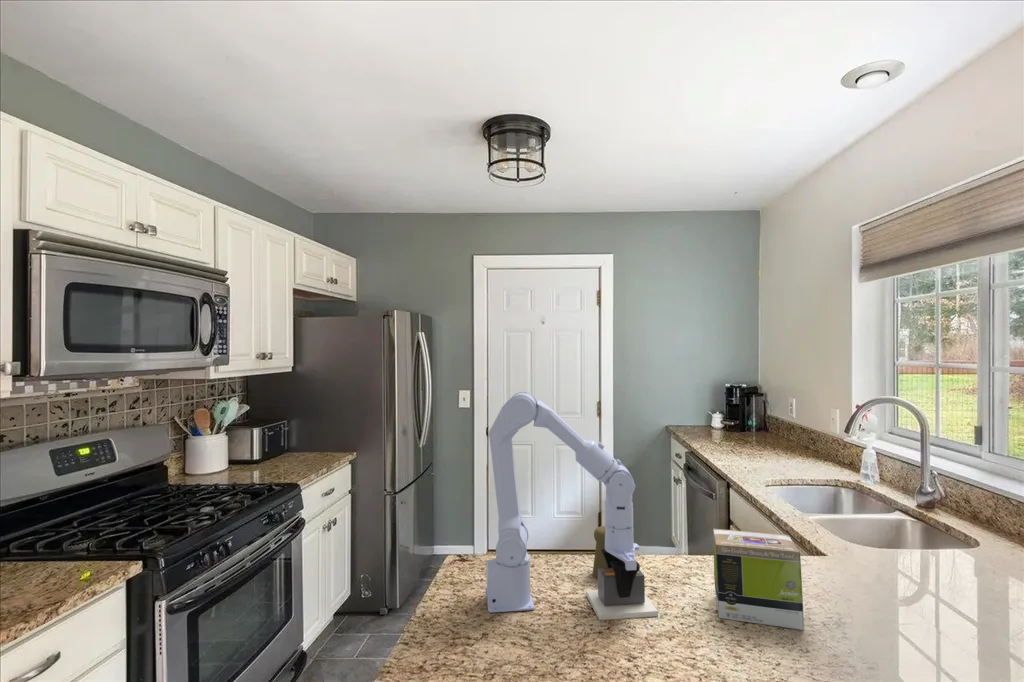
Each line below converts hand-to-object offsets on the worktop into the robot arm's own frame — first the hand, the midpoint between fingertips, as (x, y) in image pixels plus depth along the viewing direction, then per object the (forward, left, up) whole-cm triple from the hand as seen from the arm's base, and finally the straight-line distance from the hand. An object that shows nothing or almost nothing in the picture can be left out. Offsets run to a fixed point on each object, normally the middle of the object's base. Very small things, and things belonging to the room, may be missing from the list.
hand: (620, 590), depth 101 cm
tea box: (+26, -6, -3) cm, 27 cm away
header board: (0, 0, -3) cm, 3 cm away
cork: (+1, +14, -3) cm, 14 cm away
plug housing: (0, 0, -2) cm, 2 cm away
